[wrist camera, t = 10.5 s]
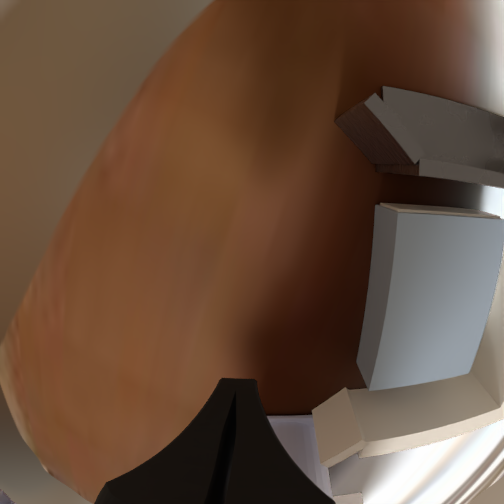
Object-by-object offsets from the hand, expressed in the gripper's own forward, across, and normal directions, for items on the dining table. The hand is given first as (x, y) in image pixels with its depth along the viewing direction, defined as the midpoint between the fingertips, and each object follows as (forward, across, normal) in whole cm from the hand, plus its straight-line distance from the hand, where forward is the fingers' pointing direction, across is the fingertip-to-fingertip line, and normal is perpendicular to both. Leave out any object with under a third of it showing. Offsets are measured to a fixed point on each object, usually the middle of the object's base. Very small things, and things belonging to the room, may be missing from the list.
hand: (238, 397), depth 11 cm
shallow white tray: (+10, -15, 0) cm, 18 cm away
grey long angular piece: (+10, -13, -11) cm, 20 cm away
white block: (+10, -13, 0) cm, 16 cm away
